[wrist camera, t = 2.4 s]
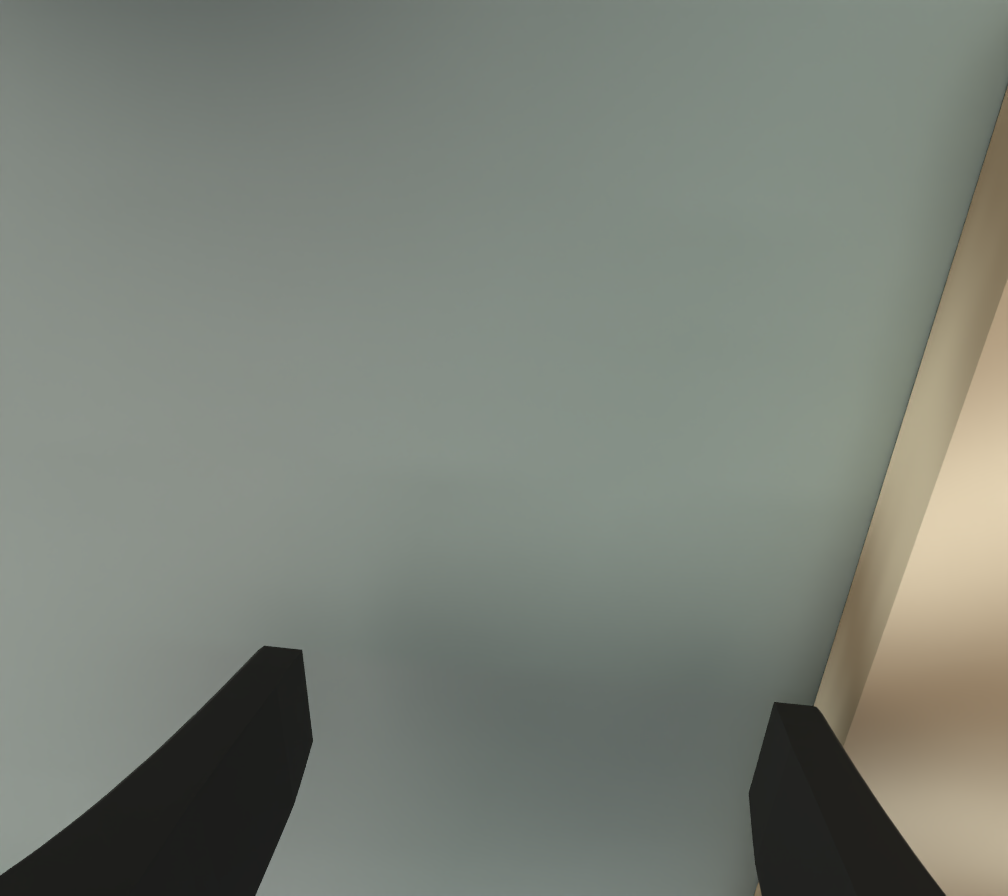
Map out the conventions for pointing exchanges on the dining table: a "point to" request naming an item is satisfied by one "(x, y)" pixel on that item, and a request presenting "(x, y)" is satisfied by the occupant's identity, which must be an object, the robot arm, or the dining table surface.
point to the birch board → (941, 581)
